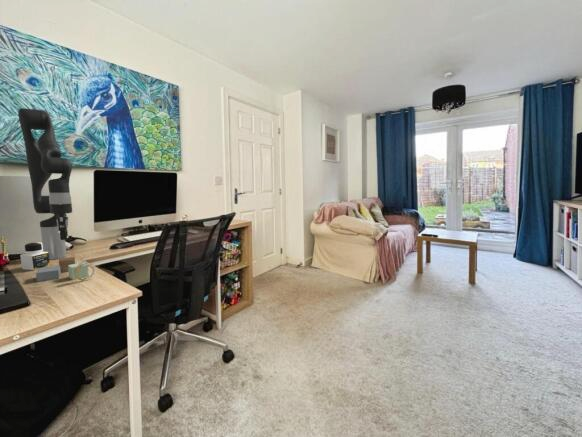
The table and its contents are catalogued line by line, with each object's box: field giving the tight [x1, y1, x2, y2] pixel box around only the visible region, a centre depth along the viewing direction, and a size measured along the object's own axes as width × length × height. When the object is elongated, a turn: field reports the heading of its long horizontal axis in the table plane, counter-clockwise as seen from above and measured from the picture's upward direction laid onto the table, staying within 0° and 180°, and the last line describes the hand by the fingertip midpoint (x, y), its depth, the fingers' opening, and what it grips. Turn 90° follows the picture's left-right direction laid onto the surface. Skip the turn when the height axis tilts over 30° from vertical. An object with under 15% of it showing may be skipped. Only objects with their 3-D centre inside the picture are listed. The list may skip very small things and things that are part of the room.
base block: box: [35, 265, 62, 283], centre depth 116 cm, size 7×7×4 cm
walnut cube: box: [58, 256, 76, 274], centre depth 125 cm, size 6×6×6 cm
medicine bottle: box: [20, 241, 51, 271], centre depth 128 cm, size 7×7×12 cm
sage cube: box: [67, 261, 90, 281], centre depth 117 cm, size 6×6×6 cm
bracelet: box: [74, 261, 96, 282], centre depth 113 cm, size 7×3×8 cm, turn 134°
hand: (64, 238), depth 124 cm, fingers open, 8 cm apart
